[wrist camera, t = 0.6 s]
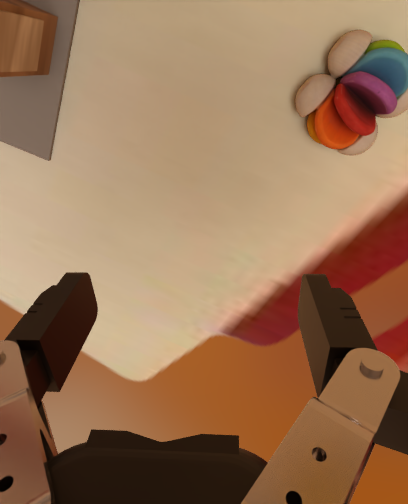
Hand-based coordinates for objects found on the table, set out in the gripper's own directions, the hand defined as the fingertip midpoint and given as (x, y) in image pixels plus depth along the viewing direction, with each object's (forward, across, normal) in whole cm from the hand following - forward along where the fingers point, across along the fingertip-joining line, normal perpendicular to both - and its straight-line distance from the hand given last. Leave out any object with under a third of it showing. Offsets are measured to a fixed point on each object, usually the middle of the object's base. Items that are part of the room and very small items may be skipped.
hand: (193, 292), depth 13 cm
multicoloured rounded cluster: (+26, -13, -4) cm, 29 cm away
